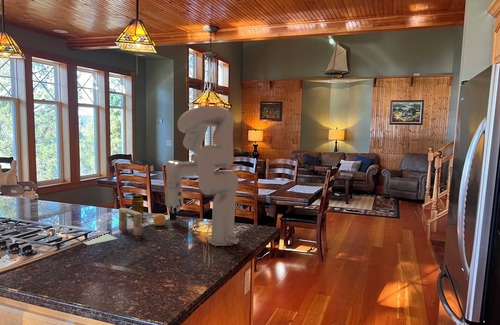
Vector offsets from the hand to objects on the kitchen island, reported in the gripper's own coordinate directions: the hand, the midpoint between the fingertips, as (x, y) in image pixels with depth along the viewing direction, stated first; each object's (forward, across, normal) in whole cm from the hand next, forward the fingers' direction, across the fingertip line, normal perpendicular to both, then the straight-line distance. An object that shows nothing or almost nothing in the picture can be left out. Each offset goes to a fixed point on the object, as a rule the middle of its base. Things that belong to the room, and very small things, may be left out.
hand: (173, 219), depth 183 cm
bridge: (+2, 0, +24) cm, 24 cm away
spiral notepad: (+2, -1, +40) cm, 40 cm away
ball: (-2, 0, +8) cm, 8 cm away
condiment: (+2, +22, +9) cm, 24 cm away
